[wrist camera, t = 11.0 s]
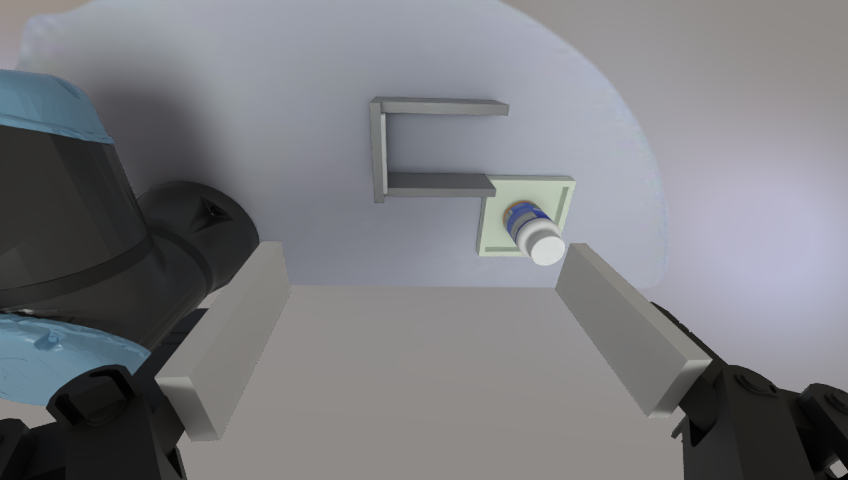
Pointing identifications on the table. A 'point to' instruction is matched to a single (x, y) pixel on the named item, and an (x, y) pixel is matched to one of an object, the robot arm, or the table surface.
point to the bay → (425, 181)
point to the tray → (540, 190)
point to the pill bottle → (534, 232)
